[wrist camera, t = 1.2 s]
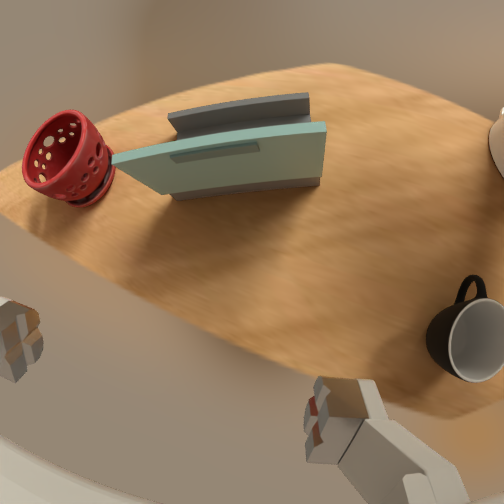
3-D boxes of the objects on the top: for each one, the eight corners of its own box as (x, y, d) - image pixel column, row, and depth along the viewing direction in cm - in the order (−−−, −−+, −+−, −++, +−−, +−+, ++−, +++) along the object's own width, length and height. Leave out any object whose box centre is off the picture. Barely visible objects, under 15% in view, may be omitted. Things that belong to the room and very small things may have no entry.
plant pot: (107, 220, 47) (58, 195, 36) (56, 204, 50) (10, 182, 38) (137, 145, 49) (98, 107, 37) (84, 138, 52) (45, 107, 40)
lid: (324, 121, 25) (327, 134, 25) (320, 168, 37) (321, 179, 37) (112, 154, 29) (111, 167, 28) (161, 187, 40) (161, 197, 40)
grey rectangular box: (309, 112, 45) (308, 92, 40) (319, 185, 42) (320, 169, 38) (180, 130, 48) (168, 113, 43) (177, 200, 46) (162, 188, 41)
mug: (467, 371, 34) (504, 384, 24) (410, 366, 36) (439, 380, 26) (481, 284, 36) (521, 275, 26) (426, 274, 38) (459, 262, 28)
